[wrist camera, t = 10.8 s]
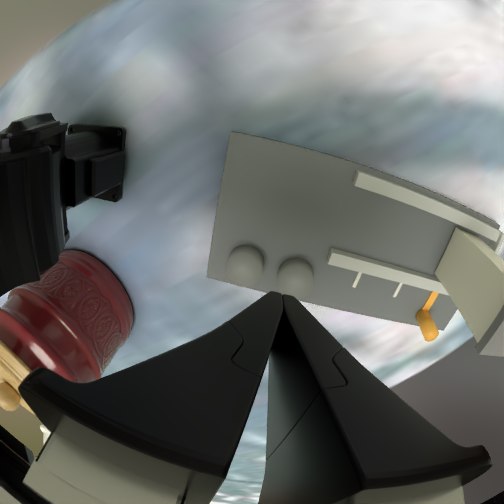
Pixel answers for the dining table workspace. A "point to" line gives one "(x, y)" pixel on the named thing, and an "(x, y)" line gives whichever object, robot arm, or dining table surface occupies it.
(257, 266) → the console
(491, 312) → the fader tab
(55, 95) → the dining table surface
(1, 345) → the canister
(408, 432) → the robot arm
